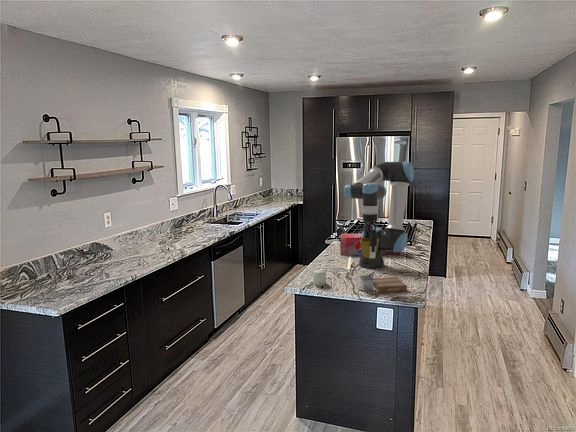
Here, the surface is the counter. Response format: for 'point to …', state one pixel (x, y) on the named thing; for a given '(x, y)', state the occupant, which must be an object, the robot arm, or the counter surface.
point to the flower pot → (367, 247)
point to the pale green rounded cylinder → (319, 277)
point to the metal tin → (366, 283)
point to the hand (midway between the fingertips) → (369, 255)
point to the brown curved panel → (389, 285)
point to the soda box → (357, 245)
